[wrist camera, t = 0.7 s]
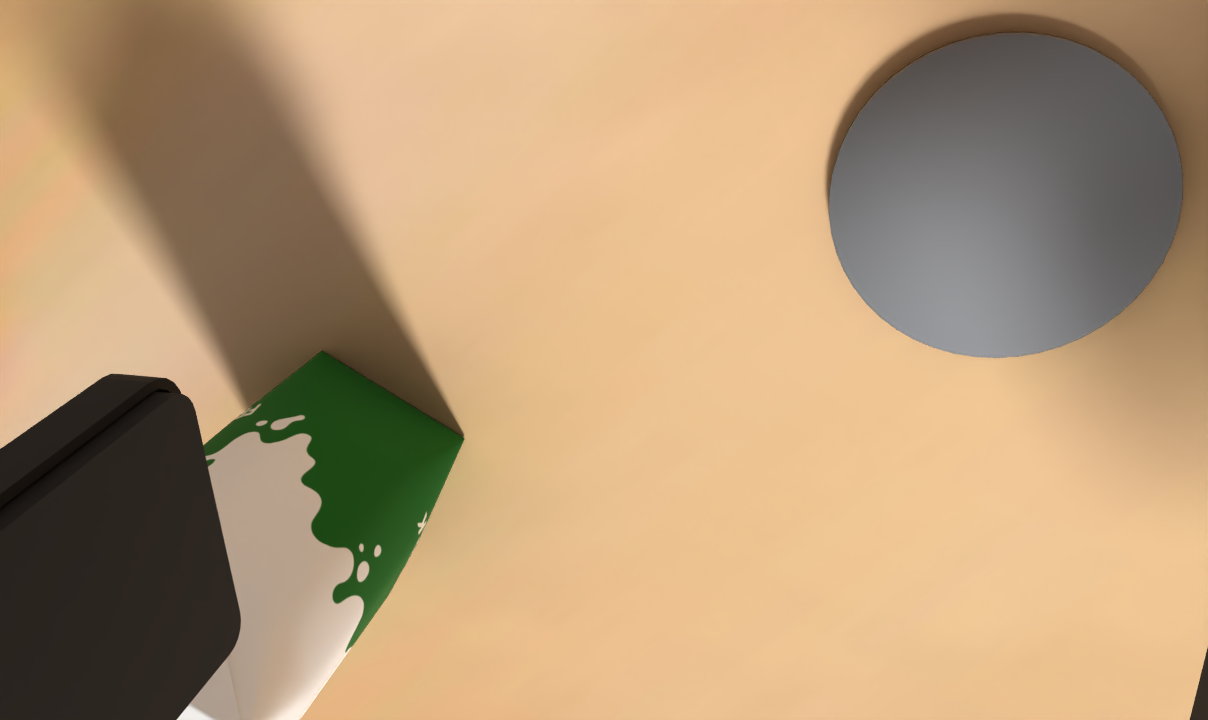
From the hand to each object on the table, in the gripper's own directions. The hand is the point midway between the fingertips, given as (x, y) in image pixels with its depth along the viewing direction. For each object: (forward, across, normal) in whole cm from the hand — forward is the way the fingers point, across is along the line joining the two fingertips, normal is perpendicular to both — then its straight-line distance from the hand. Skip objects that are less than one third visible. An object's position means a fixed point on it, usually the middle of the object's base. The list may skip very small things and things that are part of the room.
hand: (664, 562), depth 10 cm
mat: (+30, -5, +6) cm, 31 cm away
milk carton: (+30, +20, +18) cm, 41 cm away
